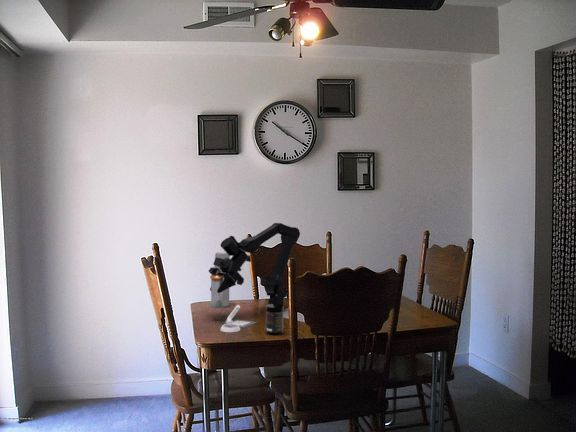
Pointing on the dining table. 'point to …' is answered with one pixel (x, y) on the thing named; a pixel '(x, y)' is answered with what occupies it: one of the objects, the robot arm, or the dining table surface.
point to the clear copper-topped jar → (215, 296)
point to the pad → (242, 323)
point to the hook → (231, 322)
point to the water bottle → (225, 292)
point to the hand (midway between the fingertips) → (214, 291)
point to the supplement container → (274, 319)
